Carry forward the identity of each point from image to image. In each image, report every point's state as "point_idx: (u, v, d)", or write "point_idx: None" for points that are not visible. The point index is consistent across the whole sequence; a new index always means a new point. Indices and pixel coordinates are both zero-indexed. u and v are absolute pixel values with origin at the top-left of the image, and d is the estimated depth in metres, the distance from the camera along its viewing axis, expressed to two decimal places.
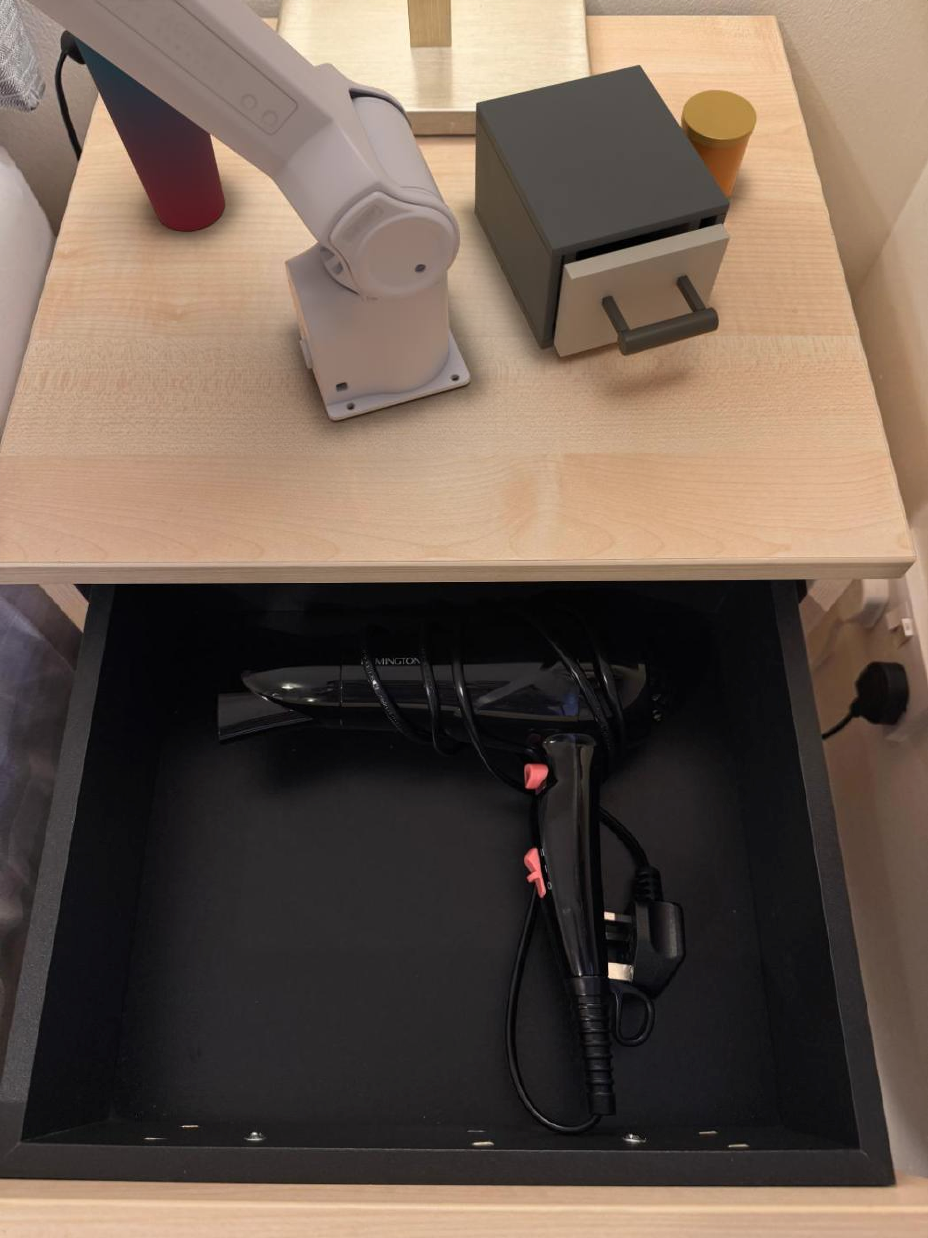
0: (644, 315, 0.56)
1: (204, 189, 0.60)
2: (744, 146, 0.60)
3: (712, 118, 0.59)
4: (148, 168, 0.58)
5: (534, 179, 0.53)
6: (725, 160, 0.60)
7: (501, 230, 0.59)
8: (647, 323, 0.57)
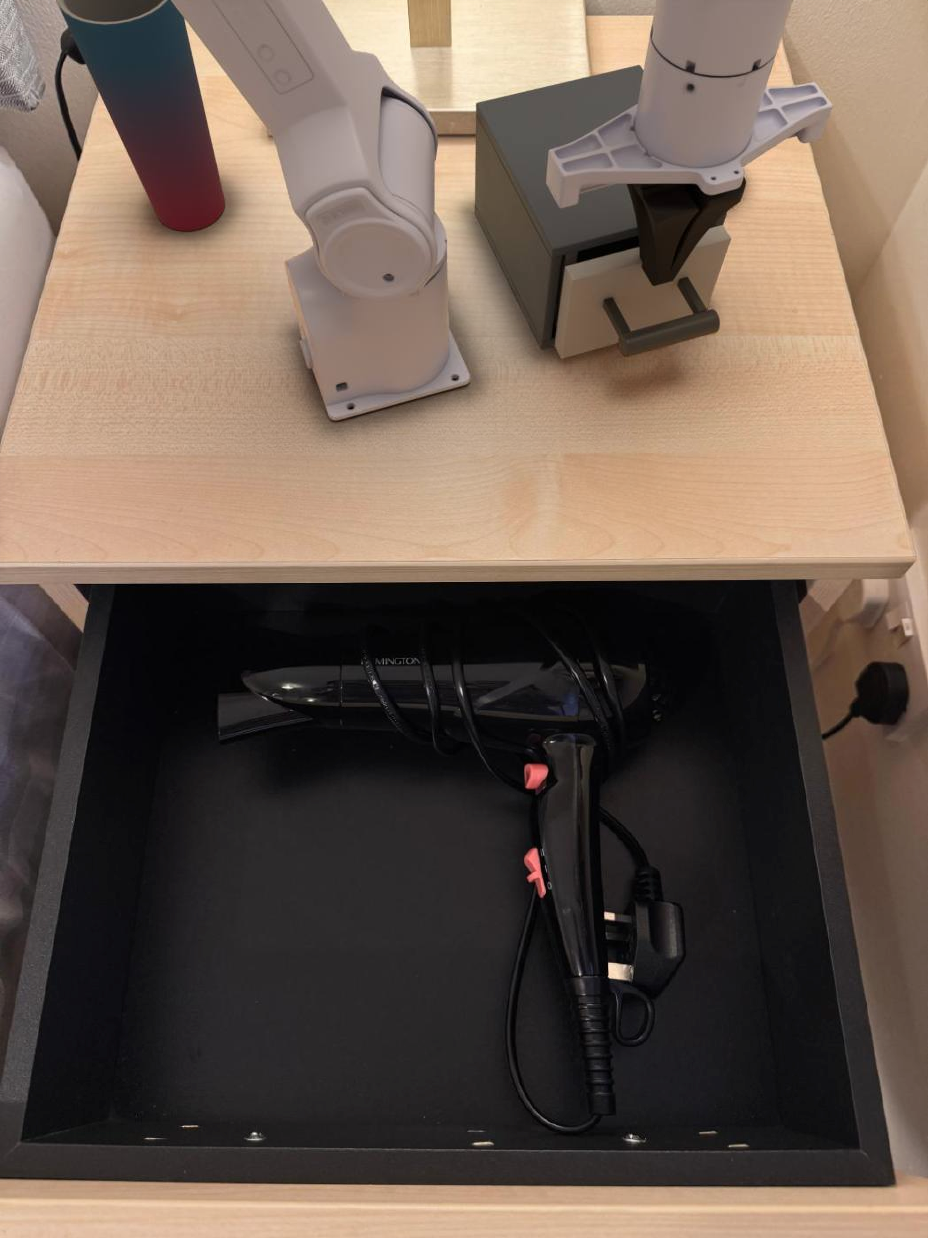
0: (645, 317, 0.56)
1: (204, 189, 0.60)
2: None
3: None
4: (148, 168, 0.58)
5: (534, 179, 0.53)
6: None
7: (501, 230, 0.59)
8: (648, 325, 0.57)
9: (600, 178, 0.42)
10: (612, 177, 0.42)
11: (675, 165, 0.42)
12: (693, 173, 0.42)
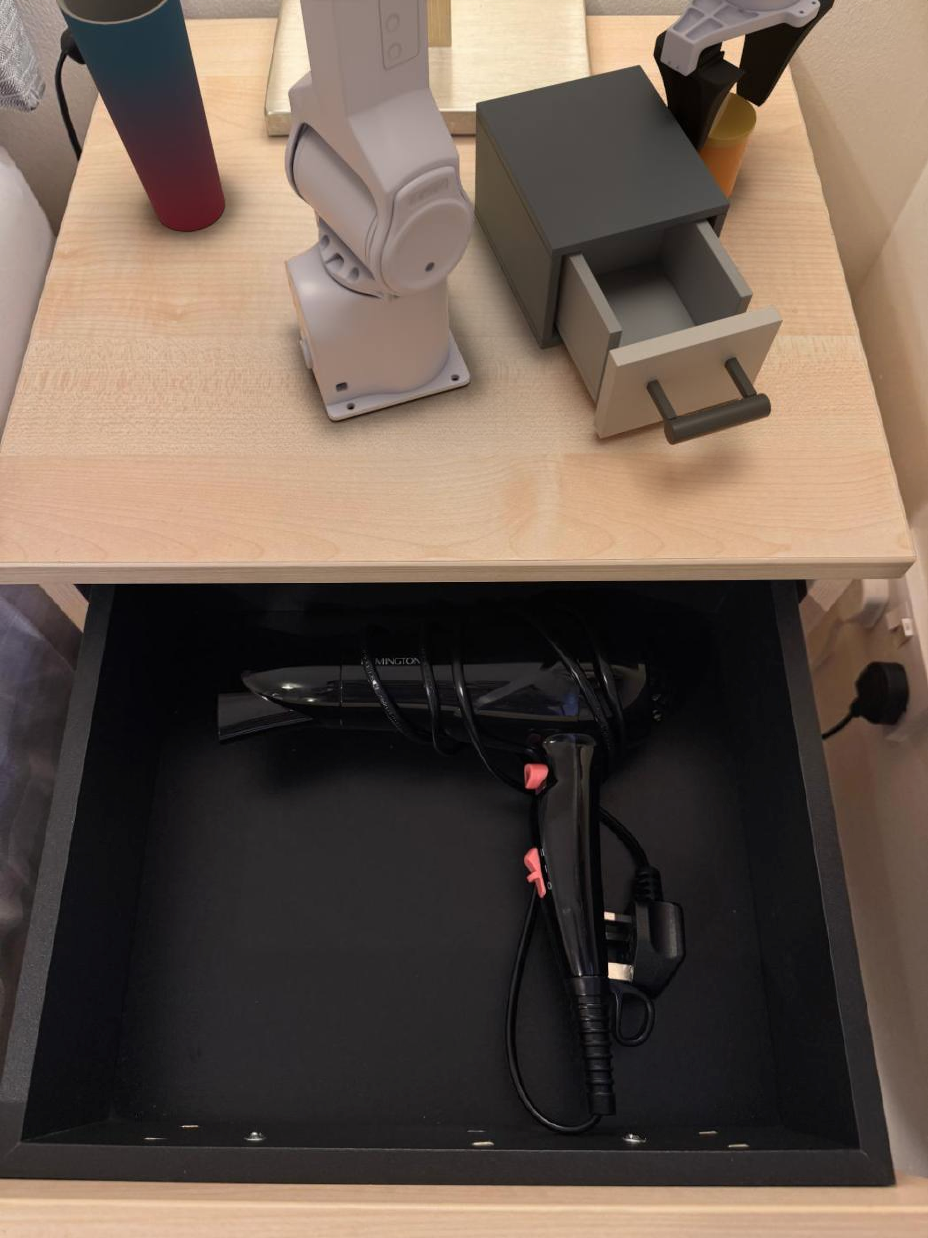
0: (689, 396, 0.53)
1: (204, 189, 0.60)
2: (744, 146, 0.60)
3: None
4: (148, 168, 0.58)
5: (534, 179, 0.53)
6: (725, 160, 0.60)
7: (501, 230, 0.59)
8: (691, 403, 0.54)
9: (716, 38, 0.50)
10: (725, 35, 0.51)
11: (768, 11, 0.51)
12: (782, 13, 0.51)
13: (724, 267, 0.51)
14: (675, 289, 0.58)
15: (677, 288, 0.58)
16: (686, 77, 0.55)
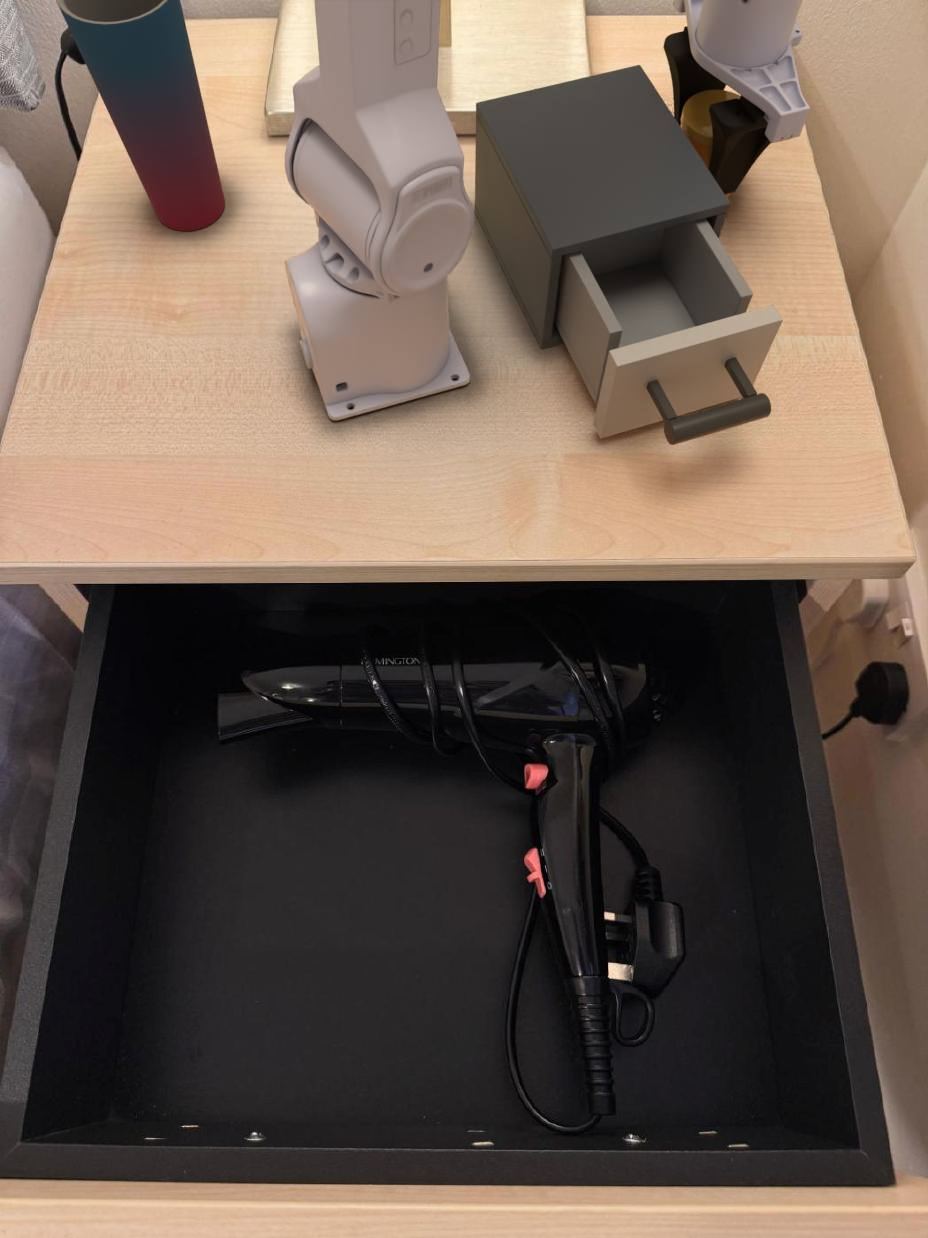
0: (689, 396, 0.53)
1: (204, 189, 0.60)
2: None
3: None
4: (148, 168, 0.58)
5: (534, 179, 0.53)
6: None
7: (501, 230, 0.59)
8: (691, 403, 0.54)
9: None
10: None
11: (788, 48, 0.55)
12: None
13: (724, 267, 0.51)
14: (675, 289, 0.58)
15: (677, 288, 0.58)
16: None
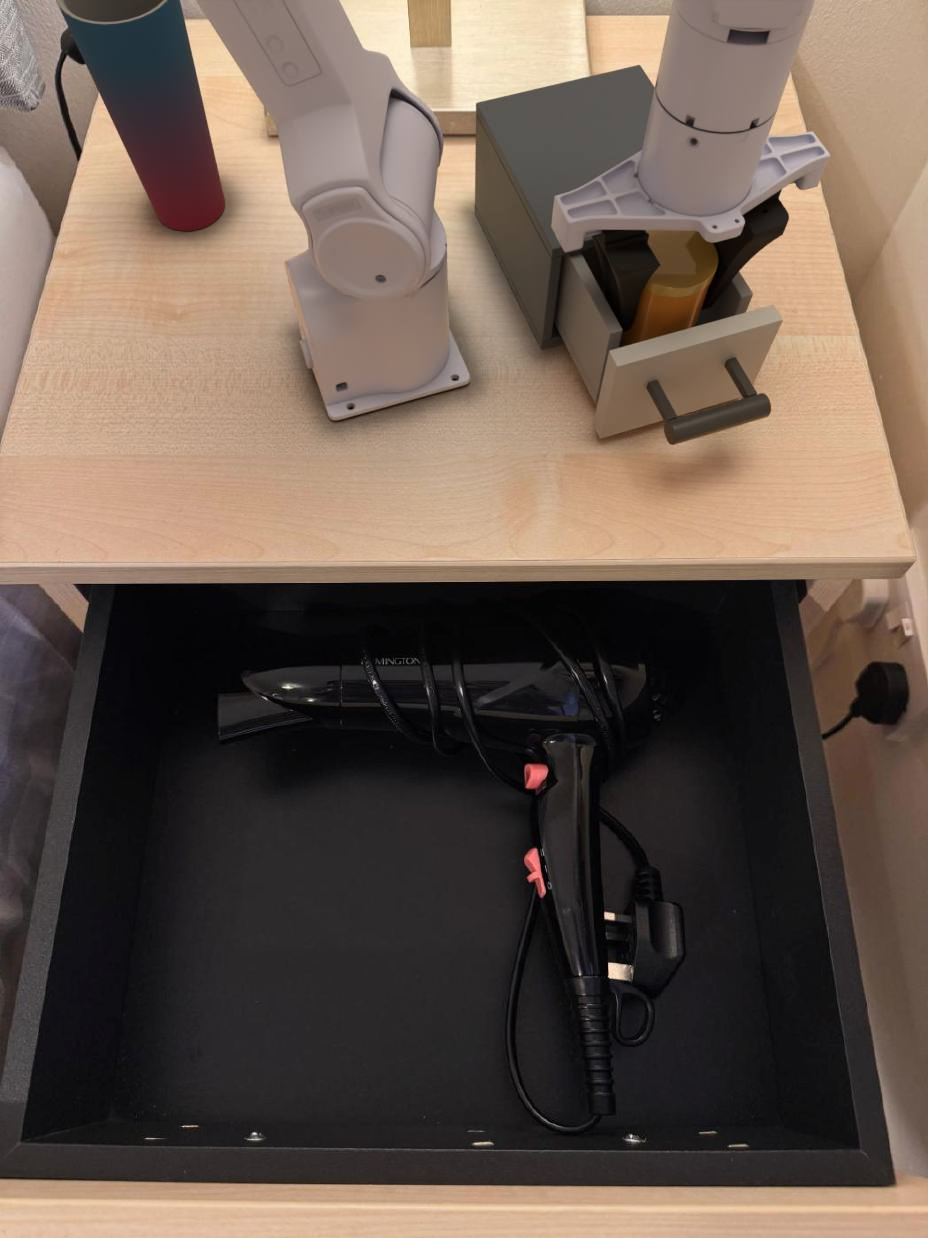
0: (689, 396, 0.53)
1: (204, 189, 0.60)
2: (644, 297, 0.49)
3: (663, 246, 0.49)
4: (148, 168, 0.58)
5: (534, 179, 0.53)
6: None
7: (501, 230, 0.59)
8: (691, 403, 0.54)
9: (604, 224, 0.44)
10: (616, 224, 0.44)
11: (677, 213, 0.43)
12: (695, 221, 0.43)
13: None
14: None
15: None
16: None
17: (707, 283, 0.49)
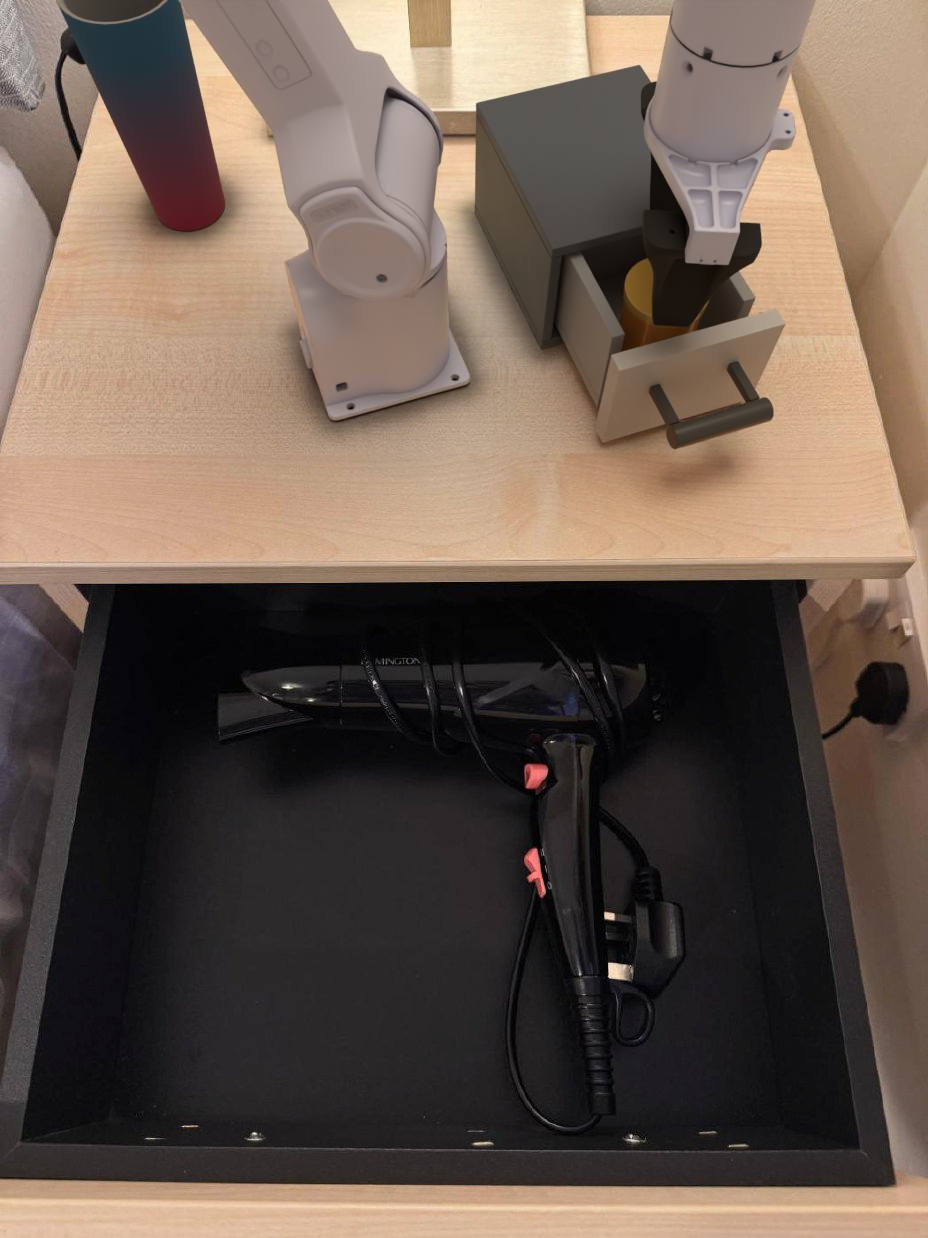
0: (691, 400, 0.53)
1: (204, 189, 0.60)
2: (639, 327, 0.51)
3: None
4: (148, 168, 0.58)
5: (534, 179, 0.53)
6: (623, 316, 0.52)
7: (501, 230, 0.59)
8: (694, 407, 0.54)
9: None
10: None
11: (760, 149, 0.41)
12: (771, 143, 0.41)
13: None
14: None
15: None
16: None
17: (700, 314, 0.50)
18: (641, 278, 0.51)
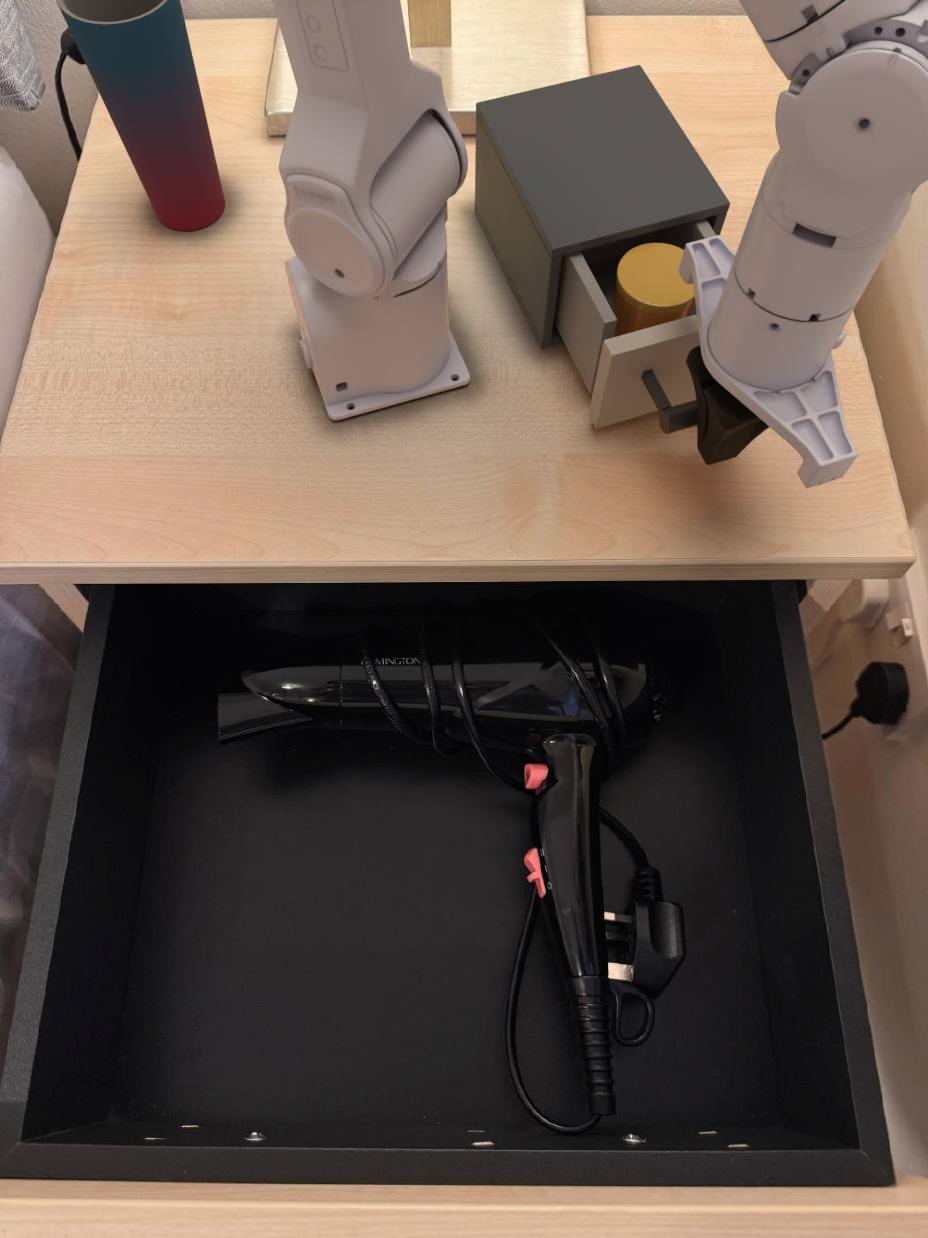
0: (684, 386, 0.54)
1: (204, 189, 0.60)
2: (632, 314, 0.52)
3: (650, 265, 0.51)
4: (148, 168, 0.58)
5: (534, 179, 0.53)
6: (616, 303, 0.53)
7: (501, 230, 0.59)
8: (686, 393, 0.55)
9: None
10: None
11: (827, 359, 0.42)
12: None
13: None
14: None
15: None
16: None
17: (692, 301, 0.51)
18: (633, 265, 0.52)
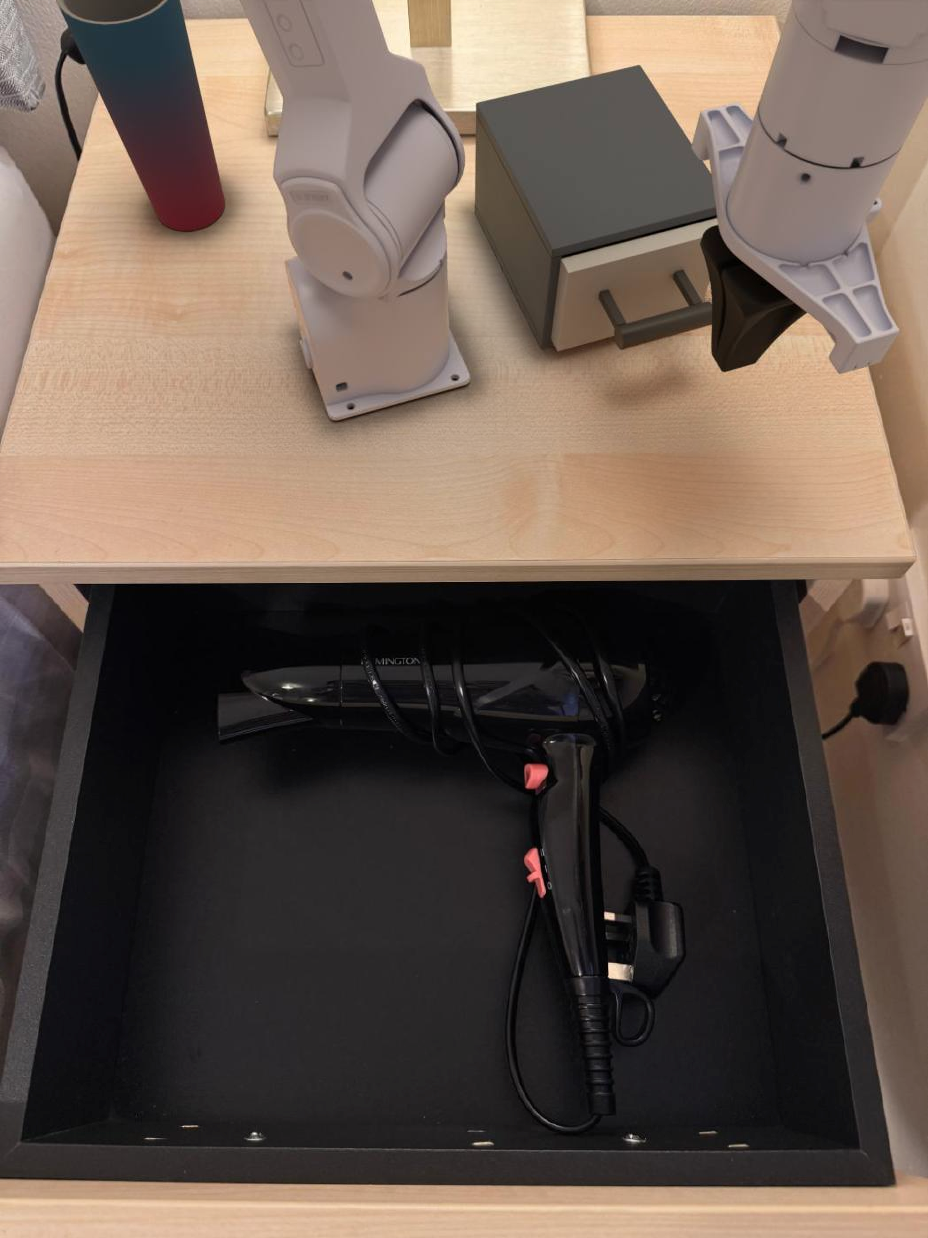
0: (641, 309, 0.56)
1: (204, 189, 0.60)
2: None
3: None
4: (148, 168, 0.58)
5: (534, 179, 0.53)
6: None
7: (501, 230, 0.59)
8: (644, 317, 0.57)
9: None
10: None
11: (862, 231, 0.37)
12: (864, 219, 0.38)
13: None
14: None
15: None
16: None
17: None
18: None
